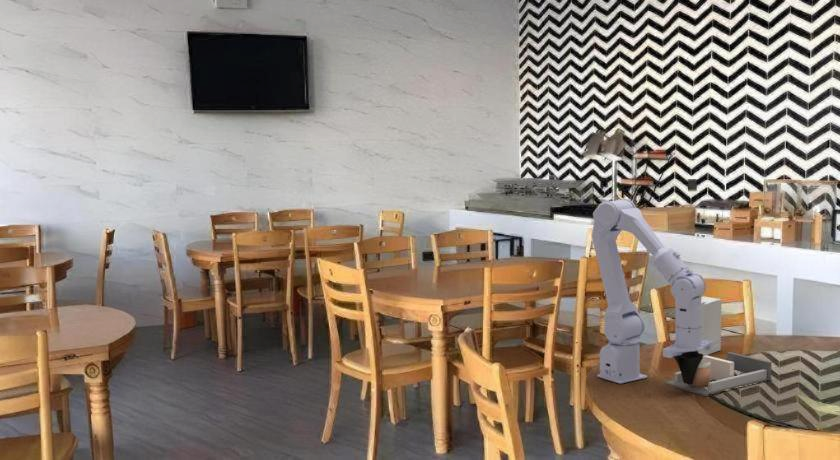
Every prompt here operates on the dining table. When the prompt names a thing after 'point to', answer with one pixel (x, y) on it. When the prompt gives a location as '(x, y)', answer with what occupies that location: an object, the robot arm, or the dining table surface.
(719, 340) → the skincare box
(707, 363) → the jar
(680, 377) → the lane
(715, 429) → the dining table surface
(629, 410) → the dining table surface
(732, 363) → the follower
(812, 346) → the dining table surface
